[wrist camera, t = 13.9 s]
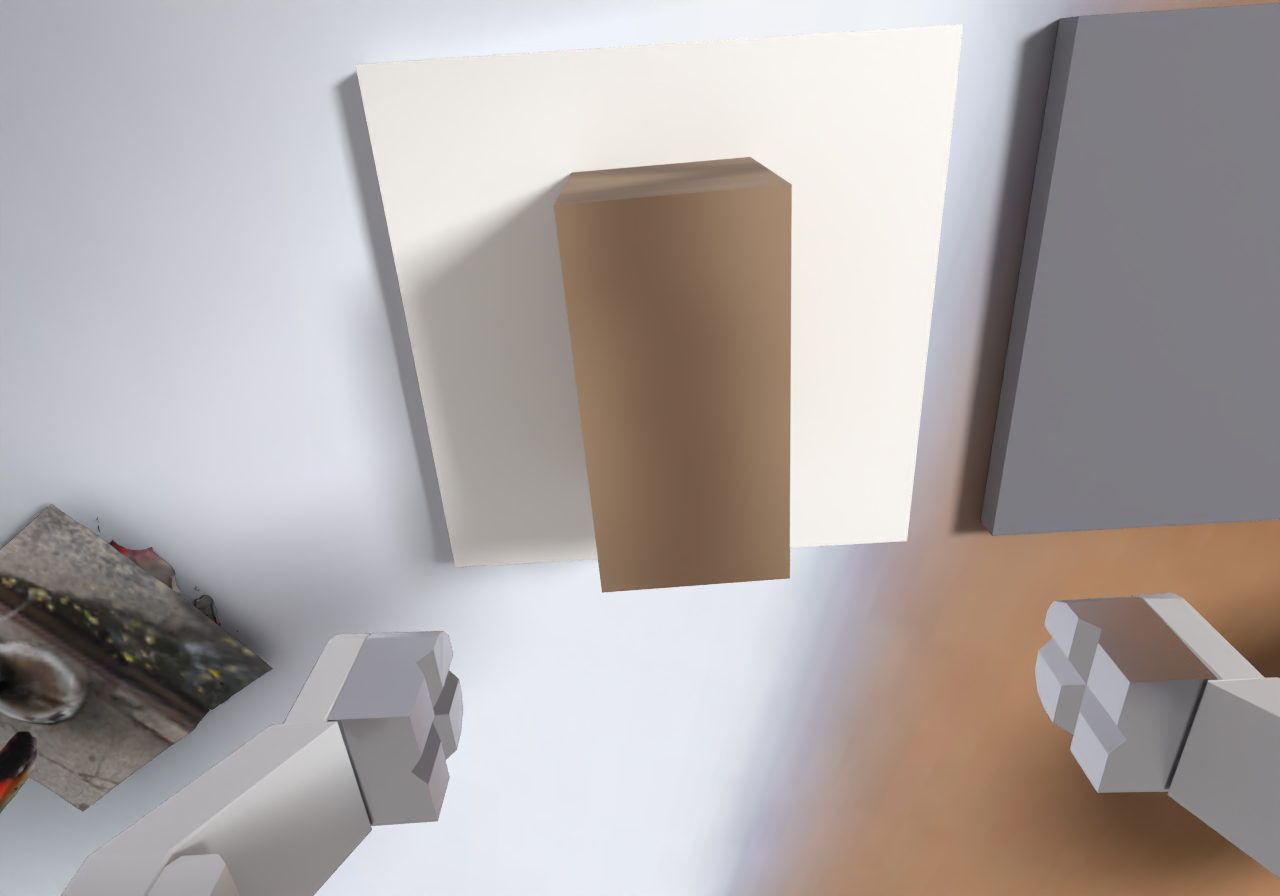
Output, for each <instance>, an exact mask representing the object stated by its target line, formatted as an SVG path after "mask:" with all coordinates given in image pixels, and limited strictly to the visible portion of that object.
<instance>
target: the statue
mask: <svg viewBox="0 0 1280 896" xmlns="http://www.w3.org/2000/svg"><path fill="white" fill-rule="evenodd" d="M97 519H98V517H97ZM97 519H96V520H97ZM98 529H99V526H98ZM99 532H100V531H99ZM196 590H198V591H199V589H198V587H196ZM177 592H178V593H177ZM179 593H180V590H179V589H178V587H177V585H176V580H175V571H174V570H173V568H172V567H171V566H170V565H169V564H167V563H166V562H165V561H164V560H163V559H161V558H160V557H159V556H158V555H156V554H155V553H154V551H153V549H152V547H151V548H148V549H145V550H129V549H126V548H124V547H122V546H118V545H117V544H116V543H115V542H112V543H111V545H110V544H109V543H107V542H106V541H104V540H103V539H102V538H100V537H99V536H97V535H96V534H95V533H93V532H92V531H91V530H89V529H88V528H87V527H85V526H83V525H81V524H79V523H77V522H76V521H74V520H73V519H71V518H70V517H69V516H68V515H66V514H65V513H64V512H62V511H61V510H59V509H58V508H56V507H55V506H54V505H53V504H51V505H50V506H49V507H48V508H47V509H45V510H44V511H43V512H42V513H41V514H40V515H39V516H37V517H36V518H35V519H34V520H33V521H32V522H31V523H30V524H28V525H27V526H26V527H25V528H24V529H23V530H22V531H21V532H19V533H18V534H17V535H16V536H15V537H14V538H13V539H12V540H11V541H10V542H8V543H7V544H6V545H5V546H4V547H3V548H2V549H1V550H0V813H1V812H2V810H3V809H4V808H5V807H6V805H7V804H8V803H9V802H10V801H11V799H12V798H13V797H14V796H15V795H16V794H17V792H18V791H19V789H20V788H21V786H22V785H23V784H24V783H25V781H26V780H27V778H28V777H30V778H32V779H33V780H35V781H37V782H38V783H40V784H42V785H43V786H45V787H47V788H48V789H50V790H51V791H53V792H55V793H56V794H58V795H59V796H60V797H62V798H63V799H65V800H66V801H67V802H69V803H70V804H72V805H73V806H75V807H77V808H78V809H80V810H81V811H84V810H85V809H87V808H88V807H90V806H91V805H92V804H94V803H95V802H96V801H98V800H99V799H100V798H102V797H103V796H104V795H105V794H107V793H108V792H109V791H111V790H112V789H113V788H114V787H116V786H117V785H118V784H120V783H121V782H122V781H123V780H125V779H126V778H127V777H128V776H130V775H131V774H132V773H134V772H135V771H136V770H138V769H139V768H140V767H142V766H143V765H145V764H147V763H148V762H149V761H151V760H152V759H153V758H155V757H156V756H157V755H159V754H160V753H161V752H163V751H164V750H165V749H167V748H168V747H170V746H171V745H173V744H174V743H176V742H177V741H179V740H180V739H182V738H183V737H185V736H186V735H187V734H189V733H190V732H191V731H193V730H194V729H195V728H196V726H197V724H198V723H199V722H200V720H201V719H202V718H203V717H204V716H205V715H206V714H207V713H208V712H209V711H210V710H209V709H211V710H212V709H214V708H216V707H217V706H218V705H220V704H222V703H224V702H225V701H227V700H228V699H229V698H230V697H231V696H232V695H234V694H235V693H237V692H238V691H240V690H241V689H243V688H244V687H246V686H247V685H248V684H250V683H251V682H253V681H254V680H256V679H257V678H259V677H261V676H262V675H264V674H265V673H267V672H268V671H270V670H271V669H273V668H272V667H270V666H269V665H268V664H267V663H266V662H264V661H263V660H262V659H261V658H259V657H258V656H257V655H256V654H255V653H253V652H252V651H251V650H249V649H248V648H247V647H245V646H244V645H243V644H242V643H240V642H239V641H238V640H237V639H235V638H234V637H233V636H231V635H230V634H229V633H227V632H226V631H225V630H223V629H222V628H221V627H220V622H219V621H218V619H217V610H216V607H215V605H214V603H213V600H212V598H211V597H210V596H208V595H204V596H203V597H202V598H201V599H197V600H196V603H197V605H196V607H197V608H196V607H195V606H194V605H192V604H191V603H190V602H189V601H187V600H186V599H185V598H183V597H182V596H181V595H179ZM205 614H208V616H206V615H205ZM237 632H238V631H237Z"/></svg>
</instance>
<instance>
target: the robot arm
mask: <svg viewBox="0 0 1280 896" xmlns="http://www.w3.org/2000/svg"><path fill="white" fill-rule="evenodd" d="M1044 625H1045V627H1046V628H1047V630H1048V631H1049V633H1050V634H1051V635H1052V637H1053V638H1052V639H1051V640H1050V641H1049V642H1048V643H1047V644H1046V645H1045V646H1044V647H1042V648H1041V649H1040V650H1039V651H1038V657H1037V663H1036V668H1035V674H1036V682H1037V690H1038V694H1039V696H1040V699H1041V702H1042V704H1043V707H1044V709H1045V710H1046V712H1047V714H1048V715H1049V717H1050V718H1051V720H1052V722H1053V723H1055V724H1056V725H1058V726H1059V727H1061V728H1063V729H1064V730H1066V731H1067V732H1069V733H1070V734H1072V735H1073V739H1072V744H1071V748H1070V750H1071V752H1072V754H1073V755H1074V757H1075V758H1076V760H1077V761H1078V763H1079V765H1080V766H1081V768H1082V769H1083V771H1084V772H1085V774H1086V776H1087V777H1088V779H1089V780H1090V782H1091V783H1092V785H1093V787H1094V788H1095V790H1096V791H1097V793H1108V792H1168V794H1167V795H1168V796H1170V797H1171V798H1172V799H1174V800H1175V801H1176V802H1178V803H1179V804H1180V805H1182V806H1183V807H1184V808H1186V809H1187V810H1188V811H1190V812H1191V813H1192V814H1194V815H1195V816H1196V817H1198V818H1199V819H1200V820H1202V821H1203V822H1204V823H1206V824H1207V825H1208V826H1210V827H1211V828H1212V829H1214V830H1215V831H1216V832H1218V833H1219V834H1220V835H1222V836H1223V837H1224V838H1226V839H1227V840H1229V841H1230V842H1231V843H1233V844H1234V845H1235V846H1237V847H1238V848H1239V849H1241V850H1242V851H1243V852H1245V853H1246V854H1247V855H1249V856H1250V857H1251V858H1253V859H1254V860H1255V861H1257V862H1258V863H1259V864H1261V865H1262V866H1263V867H1265V868H1266V869H1267V870H1269V871H1270V872H1271V873H1273V874H1274V875H1275V876H1277V877H1278V878H1279V879H1280V678H1278V677H1275V678H1265V677H1264V676H1263V675H1261V674H1260V673H1259V672H1258V671H1257V670H1256V669H1255V668H1254V667H1253V666H1252V665H1251V664H1250V663H1249V662H1248V661H1247V660H1246V659H1245V658H1244V657H1243V656H1242V655H1241V654H1240V653H1239V652H1238V651H1237V650H1236V649H1235V648H1234V647H1233V646H1232V645H1231V644H1230V643H1229V642H1228V641H1227V640H1226V639H1225V638H1223V637H1222V636H1221V635H1220V634H1219V633H1218V632H1217V631H1216V630H1215V629H1214V628H1213V627H1212V626H1211V625H1210V624H1209V623H1208V622H1207V621H1206V620H1205V619H1204V618H1203V617H1202V616H1201V615H1200V614H1199V613H1198V612H1197V611H1196V610H1195V609H1194V608H1193V607H1192V606H1191V605H1190V604H1189V603H1188V602H1187V601H1185V600H1184V599H1183V598H1182V597H1180V596H1177V595H1175V594H1173V593H1161V594H1147V595H1134V596H1131V597H1116V598H1098V599H1080V600H1062V601H1054V602H1053V604H1052V605H1051V606H1050V608H1049V609H1048V612H1047V616H1046V620H1045V624H1044ZM452 657H453V651H452V647H451V643H450V639H449V635H448V634H446V633H445V632H444V631H425V632H388V633H372V634H339V635H336V636H334V637H333V638H331V639H330V640H329V641H328V642H327V644H326V646H325V648H324V649H323V651H322V653H321V655H320V657H319V659H318V660H317V662H316V664H315V666H314V668H313V670H312V671H311V673H310V675H309V677H308V679H307V681H306V682H305V684H304V686H303V688H302V690H301V692H300V694H299V695H298V697H297V699H296V701H295V703H294V705H293V706H292V708H291V710H290V712H289V714H288V716H287V717H286V719H285V721H284V723H283V724H272V725H270V726H269V727H268V728H266V729H265V730H263V731H262V732H261V733H259V734H258V735H256V736H255V737H254V738H252V739H251V740H250V741H248V742H247V743H245V744H244V745H243V746H241V747H240V748H238V749H237V750H236V751H234V752H233V753H231V754H230V755H229V756H227V757H226V758H224V759H223V760H222V761H220V762H219V763H217V764H216V765H215V766H213V767H212V768H210V769H209V770H208V771H206V772H205V773H203V774H202V775H201V776H199V777H198V778H196V779H195V780H194V781H192V782H191V783H189V784H188V785H187V786H185V787H184V788H183V789H181V790H180V791H178V792H177V793H176V794H174V795H173V796H171V797H170V798H169V799H167V800H166V801H164V802H163V803H162V804H160V805H159V806H157V807H156V808H155V809H153V810H152V811H150V812H149V813H148V814H146V815H145V816H143V817H142V818H141V819H139V820H138V821H136V822H135V823H134V824H132V825H131V826H129V827H128V828H127V829H125V830H124V831H122V832H121V833H120V834H118V835H117V836H115V837H114V838H113V839H111V840H110V841H109V842H107V843H106V844H104V845H103V846H102V847H100V848H99V849H97V850H96V851H95V852H93V853H92V854H90V855H89V856H88V857H87V858H86V860H85V861H84V863H83V864H82V866H81V867H80V868H79V870H78V871H77V873H76V874H75V876H74V877H73V879H72V880H71V881H70V883H69V884H68V886H67V887H66V889H65V890H64V891H63V893H62V894H61V896H314V894H315V893H316V892H317V891H318V890H319V889H320V888H321V887H322V885H323V884H324V883H325V882H326V881H327V880H328V879H329V878H330V876H331V875H332V874H333V873H334V872H335V871H336V870H337V869H338V867H339V866H340V865H341V864H342V863H343V862H344V861H345V860H346V858H347V857H348V856H349V855H350V854H351V853H352V852H353V851H354V849H355V848H356V847H357V846H358V845H359V844H360V843H361V842H362V840H363V839H364V838H365V837H366V836H367V835H368V834H369V833H370V832H371V830H372V828H371V826H378V825H392V824H405V823H419V822H433V821H438V818H439V814H440V811H441V807H442V803H443V800H444V796H445V792H446V789H447V785H448V781H449V773H448V769H447V764H446V759H447V758H448V757H449V756H451V755H452V754H453V753H454V752H455V751H456V750H457V747H458V743H459V739H460V735H461V729H462V716H463V703H462V692H461V687H460V682H459V679H458V678H457V677H456V676H455V675H454V674H452V673H451V672H450V671H449V667H450V664H451V660H452Z"/></svg>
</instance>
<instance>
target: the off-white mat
mask: <svg viewBox="0 0 1280 896" xmlns="http://www.w3.org/2000/svg"><path fill="white" fill-rule="evenodd" d="M962 33H963V24H956V25H941V26H926V27H911V28H896V29H881V30H866V31H851V32H836V33H822V34H807V35H792V36H777V37H762V38H747V39H732V40H717V41H702V42H687V43H672V44H657V45H642V46H627V47H612V48H597V49H582V50H567V51H552V52H537V53H522V54H507V55H492V56H477V57H462V58H447V59H432V60H417V61H402V62H387V63H372V64H357V65H356V70H357V75H358V80H359V85H360V90H361V95H362V100H363V105H364V110H365V115H366V120H367V126H368V131H369V136H370V141H371V146H372V151H373V156H374V161H375V166H376V171H377V176H378V181H379V186H380V191H381V196H382V201H383V206H384V211H385V216H386V221H387V226H388V231H389V236H390V241H391V246H392V251H393V257H394V262H395V267H396V272H397V277H398V282H399V287H400V292H401V297H402V302H403V307H404V312H405V317H406V322H407V327H408V332H409V337H410V342H411V347H412V352H413V357H414V362H415V367H416V372H417V377H418V383H419V388H420V393H421V398H422V403H423V408H424V413H425V418H426V423H427V428H428V433H429V438H430V443H431V448H432V453H433V458H434V463H435V468H436V473H437V478H438V483H439V488H440V493H441V498H442V503H443V509H444V514H445V519H446V524H447V529H448V534H449V539H450V544H451V549H452V554H453V559H454V564H455V567H470V566H487V565H504V564H521V563H538V562H555V561H572V560H589V559H598V555H597V547H596V539H595V531H594V523H593V515H592V507H591V499H590V491H589V483H588V475H587V467H586V459H585V451H584V443H583V435H582V428H581V420H580V412H579V404H578V396H577V388H576V380H575V372H574V364H573V356H572V348H571V340H570V332H569V324H568V316H567V308H566V300H565V292H564V284H563V276H562V268H561V260H560V252H559V244H558V237H557V229H556V221H555V213H554V203H555V202H556V200H557V198H558V196H559V195H560V193H561V191H562V189H563V187H564V186H565V184H566V182H567V180H568V179H569V177H570V175H571V173H572V172H583V171H595V170H606V169H617V168H629V167H640V166H652V165H663V164H675V163H686V162H697V161H709V160H720V159H732V158H743V157H751V158H753V159H754V160H756V161H757V162H759V163H760V164H762V165H763V166H765V167H766V168H768V169H769V170H771V171H772V172H774V173H775V174H777V175H778V176H780V177H781V178H783V179H784V180H786V181H787V182H789V183H790V184H792V224H791V416H790V548H795V547H812V546H829V545H846V544H863V543H880V542H898V541H907V535H908V526H909V517H910V508H911V499H912V490H913V481H914V471H915V462H916V453H917V444H918V435H919V426H920V417H921V407H922V398H923V389H924V380H925V371H926V362H927V353H928V343H929V334H930V325H931V316H932V307H933V298H934V289H935V280H936V270H937V261H938V252H939V243H940V234H941V225H942V216H943V206H944V197H945V188H946V179H947V170H948V161H949V152H950V142H951V133H952V124H953V115H954V106H955V97H956V88H957V78H958V69H959V60H960V51H961V42H962Z"/></svg>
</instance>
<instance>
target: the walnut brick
mask: <svg viewBox="0 0 1280 896" xmlns="http://www.w3.org/2000/svg"><path fill="white" fill-rule="evenodd" d="M554 213H555V221H556V229H557V237H558V244H559V252H560V260H561V268H562V276H563V284H564V292H565V300H566V308H567V316H568V324H569V332H570V340H571V348H572V356H573V364H574V372H575V380H576V388H577V396H578V404H579V412H580V420H581V428H582V435H583V443H584V451H585V459H586V467H587V475H588V483H589V491H590V499H591V507H592V515H593V523H594V531H595V539H596V547H597V555H598V563H599V571H600V579H601V587H602V592H614V591H627V590H641V589H654V588H667V587H680V586H694V585H707V584H720V583H733V582H747V581H760V580H773V579H786V578H790V416H791V224H792V184H790V183H789V182H787V181H786V180H784V179H783V178H781V177H780V176H778V175H777V174H775V173H774V172H772V171H771V170H769V169H768V168H766V167H765V166H763V165H762V164H760V163H759V162H757V161H756V160H754V159H753V158H751V157H743V158H732V159H720V160H709V161H697V162H686V163H675V164H663V165H652V166H640V167H629V168H617V169H606V170H595V171H583V172H572V173H571V175H570V177H569V179H568V180H567V182H566V184H565V186H564V187H563V189H562V191H561V193H560V195H559V196H558V198H557V200H556V202H555V203H554Z"/></svg>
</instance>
